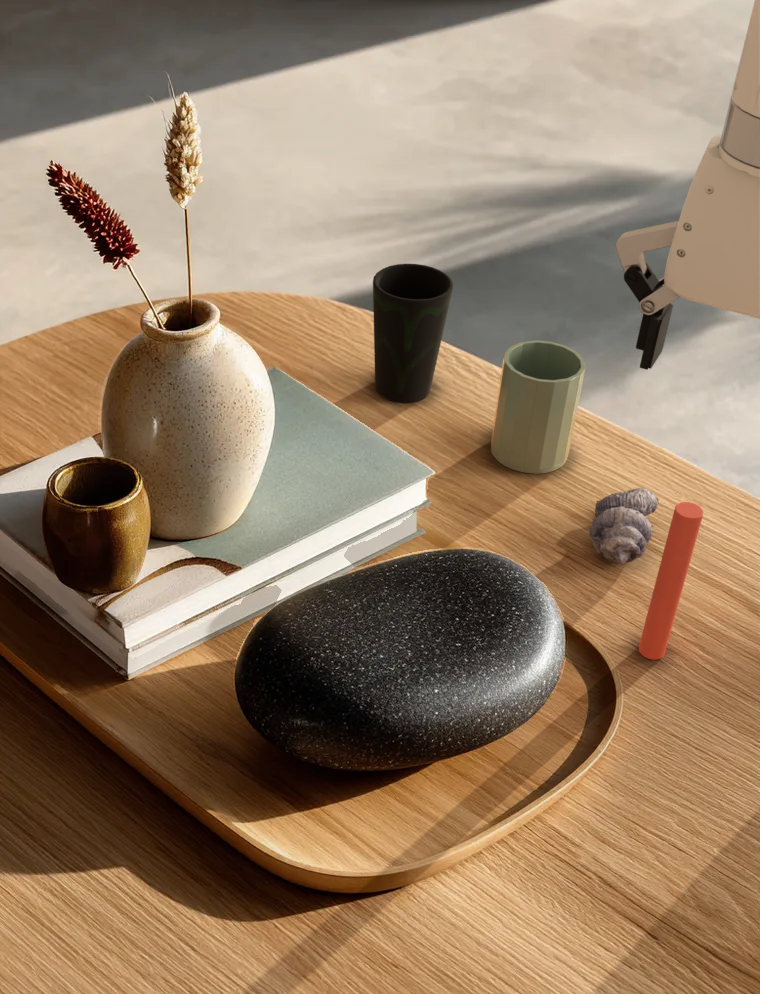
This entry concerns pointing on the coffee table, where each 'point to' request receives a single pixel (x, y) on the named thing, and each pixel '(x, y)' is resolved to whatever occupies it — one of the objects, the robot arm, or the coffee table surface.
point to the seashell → (623, 524)
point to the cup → (408, 328)
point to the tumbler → (537, 406)
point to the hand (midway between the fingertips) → (720, 380)
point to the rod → (670, 579)
